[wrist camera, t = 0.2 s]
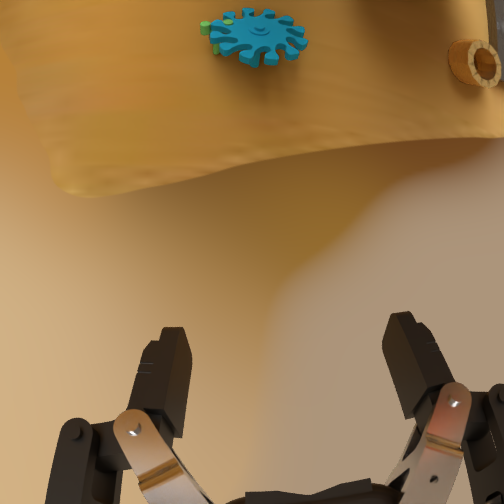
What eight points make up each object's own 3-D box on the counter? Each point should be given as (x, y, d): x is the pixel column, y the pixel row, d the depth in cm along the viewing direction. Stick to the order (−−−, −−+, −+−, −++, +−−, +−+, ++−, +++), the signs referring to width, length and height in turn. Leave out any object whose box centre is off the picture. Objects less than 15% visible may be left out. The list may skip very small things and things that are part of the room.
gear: (315, 17, 25) (300, 66, 23) (304, 52, 31) (288, 106, 29) (219, -4, 25) (182, 41, 23) (218, 32, 31) (186, 82, 29)
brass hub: (448, 35, 26) (467, 34, 22) (481, 47, 26) (500, 48, 22) (448, 78, 29) (467, 81, 25) (480, 87, 29) (500, 92, 25)
